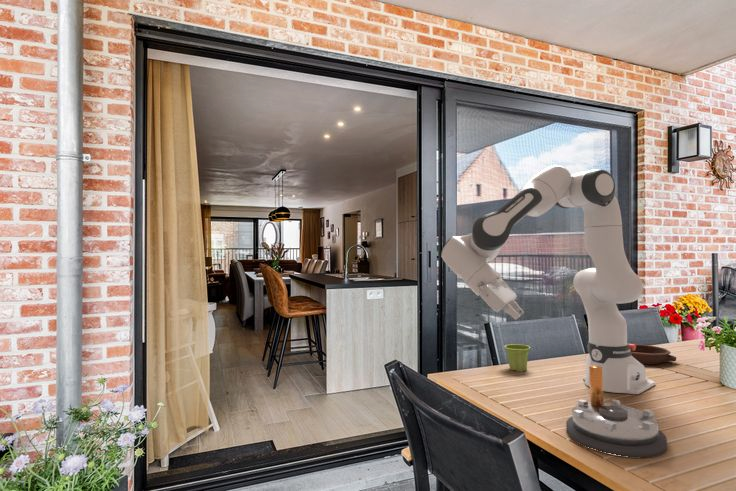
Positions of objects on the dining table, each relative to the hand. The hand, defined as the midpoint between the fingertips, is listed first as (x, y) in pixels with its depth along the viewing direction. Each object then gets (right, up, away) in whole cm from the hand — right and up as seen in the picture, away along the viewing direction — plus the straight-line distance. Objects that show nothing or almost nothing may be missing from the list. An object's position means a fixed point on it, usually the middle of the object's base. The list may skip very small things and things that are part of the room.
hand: (520, 316), depth 119 cm
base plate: (+17, -27, -17) cm, 36 cm away
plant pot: (+15, -28, +42) cm, 53 cm away
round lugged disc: (+17, -24, -17) cm, 34 cm away
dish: (+67, -26, +49) cm, 87 cm away
